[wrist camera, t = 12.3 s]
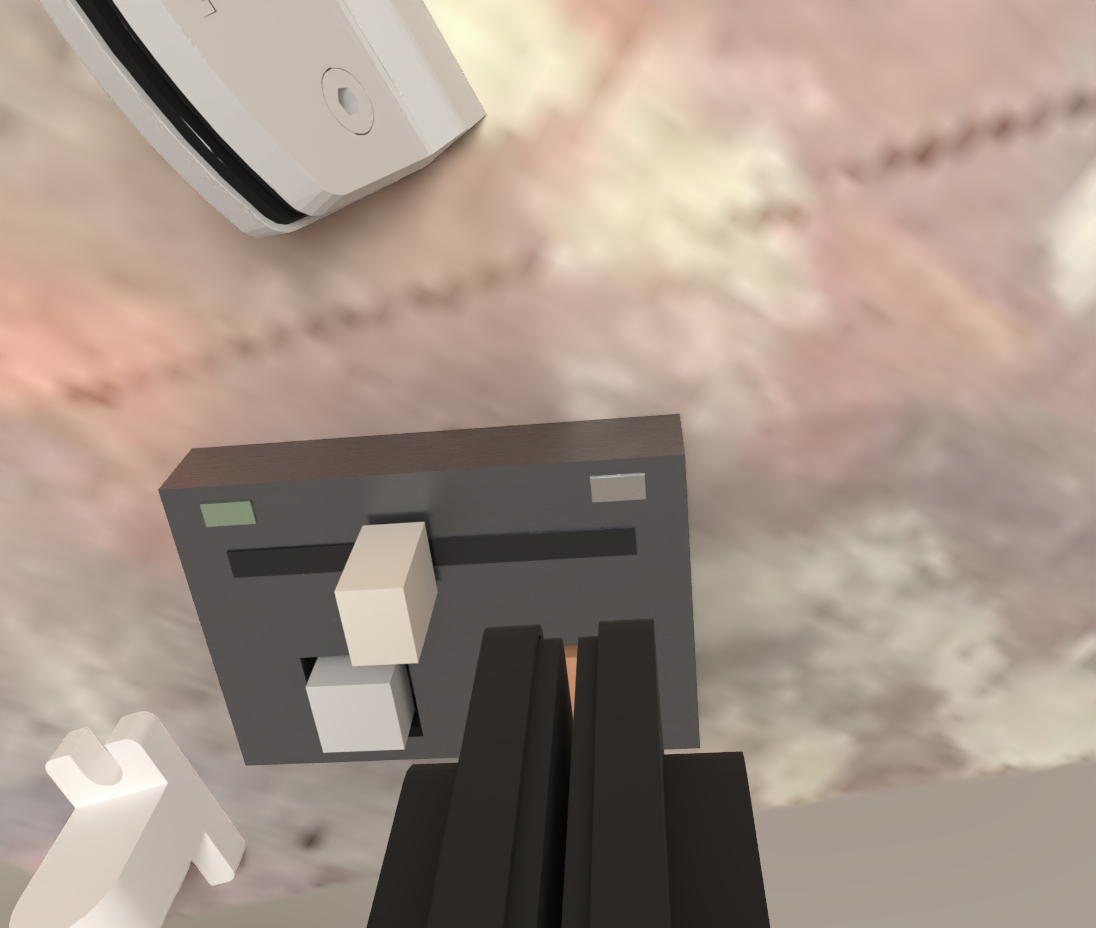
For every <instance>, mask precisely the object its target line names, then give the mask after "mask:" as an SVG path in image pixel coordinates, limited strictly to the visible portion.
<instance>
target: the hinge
mask: <svg viewBox="0 0 1096 928" xmlns="http://www.w3.org/2000/svg"><path fill="white" fill-rule="evenodd" d="M39 1H40V3H41V4H42V6H43V7H44V9H45V10H46V12H47V13H48V14H49V16H50V17H51V19H52V20H53V22H54V23H55V25H56V26H57V28H58V29H59V31H60V32H61V34H62V35H63V37H64V38H65V39H66V41H67V42H68V43H69V45H70V46H71V47H72V49H73V50H74V51H75V53H76V54H77V55H78V57H79V58H80V59H81V61H82V62H83V63H84V65H85V66H86V67H87V69H88V70H89V71H90V73H91V74H92V75H93V77H94V78H95V79H96V81H97V82H98V83H99V84H100V86H101V87H102V88H103V89H104V91H105V92H106V93H107V94H108V95H109V97H110V98H111V99H112V100H113V101H114V103H115V104H116V105H117V106H118V108H119V109H120V110H121V111H122V112H123V114H124V115H125V116H126V117H127V118H128V119H129V120H130V122H131V123H132V124H133V125H134V126H135V127H136V129H137V130H138V131H139V132H140V133H141V134H142V135H143V137H144V138H145V139H146V140H147V141H148V142H149V143H150V144H151V145H152V147H153V148H154V149H155V150H156V151H157V152H158V153H159V154H160V155H161V156H162V157H163V158H164V159H165V160H166V161H167V162H168V163H169V164H170V165H171V167H172V168H173V169H174V170H175V171H176V172H177V173H178V174H179V175H180V176H181V177H182V178H183V179H184V180H185V181H186V182H187V183H188V184H190V185H191V186H192V187H193V188H194V189H195V190H196V191H197V192H198V193H199V194H200V195H201V196H202V197H203V198H204V199H205V200H206V201H207V202H209V203H210V204H211V205H212V206H213V207H214V208H215V209H216V210H218V211H219V212H220V213H221V214H222V215H223V216H224V217H226V218H227V219H228V220H229V221H230V222H231V223H233V224H234V225H235V226H236V227H237V228H238V229H240V230H241V231H242V232H243V233H245V234H247V235H249V236H251V237H255V238H266V237H271V236H275V235H280V234H285V233H289V232H293V231H296V230H298V229H300V228H302V227H304V226H306V225H309V224H311V223H313V222H315V221H317V220H319V219H321V218H323V217H325V216H327V215H329V214H331V213H333V212H336V211H338V210H340V209H342V208H344V207H346V206H348V205H350V204H352V203H354V202H356V201H358V200H360V199H363V198H365V197H367V196H369V195H371V194H373V193H375V192H377V191H379V190H381V189H383V188H385V187H387V186H389V185H392V184H394V183H396V182H398V181H399V179H401V178H403V177H405V176H407V175H409V174H411V173H413V172H415V171H417V170H420V169H422V168H424V167H426V166H427V165H428V164H429V163H431V162H432V161H433V160H434V159H435V158H436V157H437V156H439V155H440V154H441V153H442V152H443V151H444V150H445V149H447V148H448V147H449V146H450V145H451V144H452V143H454V142H455V141H456V140H457V139H458V138H459V137H461V136H462V135H463V134H464V133H465V132H467V131H468V130H469V129H470V128H472V127H473V126H474V125H475V124H476V123H477V122H479V121H480V120H481V119H482V118H483V117H484V116H485V115H486V112H485V111H484V109H483V107H482V105H481V103H480V102H479V100H478V98H477V96H476V95H475V93H474V91H473V89H472V87H471V86H470V84H469V82H468V80H467V79H466V77H465V75H464V73H463V72H462V70H461V68H460V66H459V64H458V63H457V61H456V59H455V57H454V56H453V54H452V52H451V50H450V48H449V47H448V45H447V43H446V41H445V40H444V38H443V36H442V34H441V32H440V31H439V29H438V27H437V25H436V24H435V22H434V20H433V18H432V17H431V15H430V13H429V11H428V9H427V8H426V6H425V4H424V2H423V1H422V0H39Z"/></svg>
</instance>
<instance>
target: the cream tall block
mask: <svg viewBox="0 0 1096 928" xmlns="http://www.w3.org/2000/svg"><path fill="white" fill-rule="evenodd" d="M334 592H335V597H336V601H337V605H338V609H339V613H340V617H341V621H342V626H343V630H344V634H345V638H346V642H347V646H348V650H349V655H350V659H351V663H352V666H368V665H389V664H410V663H419V659H420V655H421V652H422V648H423V644H424V641H425V637H426V633H427V630H428V626H429V622H430V619H431V615H432V611H433V608H434V604H435V600H436V596H437V593H438V591H437V586H436V580H435V575H434V570H433V564H432V559H431V553H430V548H429V543H428V537H427V532H426V527H425V522H412V523H396V524H380V525H364V526H362V528H361V530H360V533H359V535H358V537H357V540H356V542H355V544H354V547H353V549H352V551H351V554H350V556H349V559H348V561H347V563H346V566H345V568H344V570H343V573H342V575H341V577H340V580H339V582H338V584H337V587H336V589H335V591H334Z"/></svg>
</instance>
